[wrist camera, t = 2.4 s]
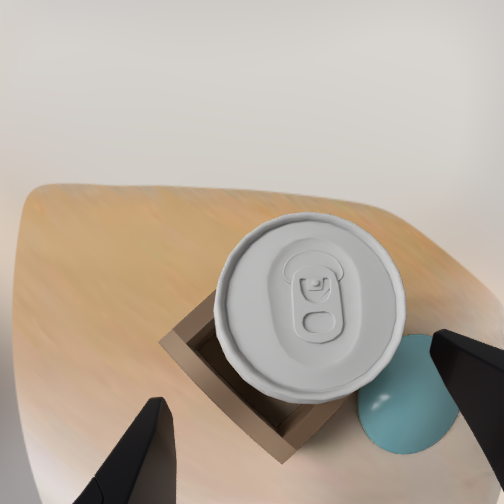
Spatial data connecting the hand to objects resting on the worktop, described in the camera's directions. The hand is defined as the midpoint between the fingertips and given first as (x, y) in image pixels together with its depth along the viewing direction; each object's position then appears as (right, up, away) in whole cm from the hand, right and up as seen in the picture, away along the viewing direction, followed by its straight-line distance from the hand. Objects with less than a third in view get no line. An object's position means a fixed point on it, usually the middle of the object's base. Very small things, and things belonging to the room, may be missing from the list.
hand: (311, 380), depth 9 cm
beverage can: (0, -2, +9) cm, 10 cm away
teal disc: (+8, -5, +8) cm, 13 cm away
